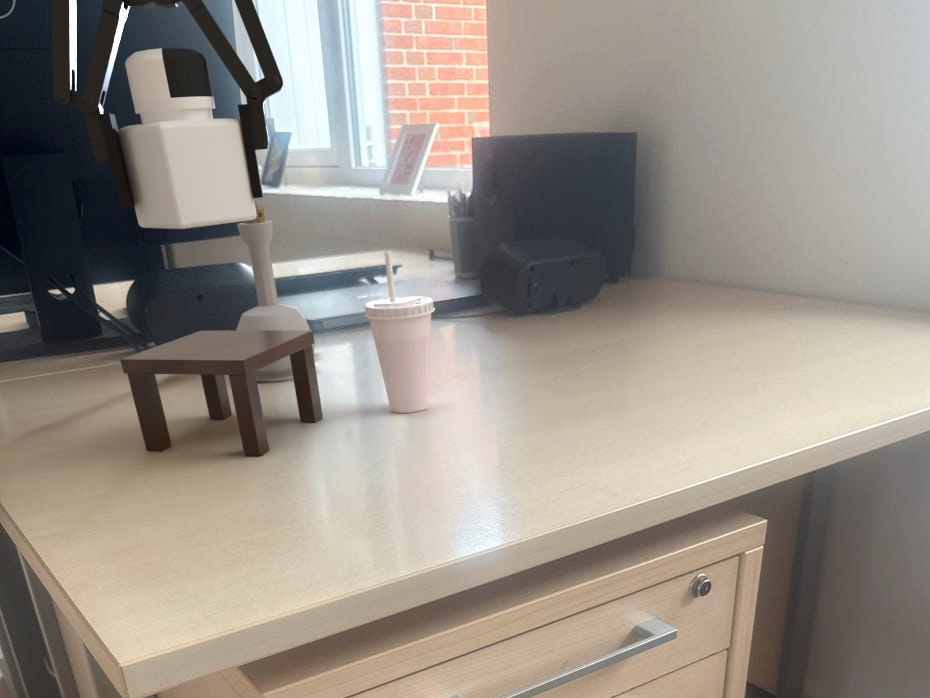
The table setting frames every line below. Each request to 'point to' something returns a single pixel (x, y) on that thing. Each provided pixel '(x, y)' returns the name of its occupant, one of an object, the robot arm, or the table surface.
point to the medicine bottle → (182, 146)
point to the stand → (214, 360)
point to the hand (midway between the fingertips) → (193, 202)
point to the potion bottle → (267, 295)
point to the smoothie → (402, 345)
